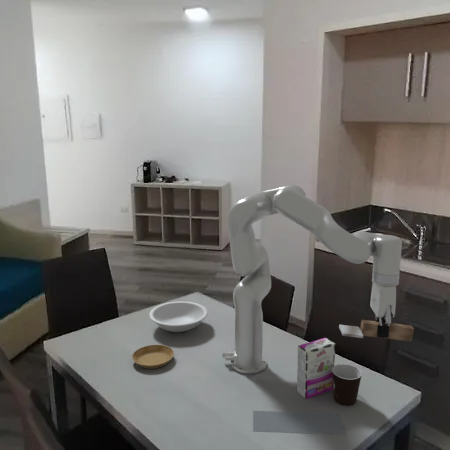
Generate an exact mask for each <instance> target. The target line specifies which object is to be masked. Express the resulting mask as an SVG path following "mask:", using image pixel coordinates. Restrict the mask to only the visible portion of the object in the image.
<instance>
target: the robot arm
mask: <svg viewBox="0 0 450 450" xmlns="http://www.w3.org/2000/svg"><path fill="white" fill-rule="evenodd" d="M278 214H280V215H282V216H283V217H285V218H287V219H289V220H290V221H292V222H294V223H295V224H297V225H298V226H300V227H302V228H304V229H305V230H306V231H308V232H310V233H311V234H312V235H313V236H314V237H315V238H316V239H317V240H318V241H319V242H320V243H321V244H322V245H323V246H324V247H325V248H326V249H328V250H329V251H331V252H332V253H334V254H335V255H337V256H338V257H340V258H342V259H344V260H345V261H346V262H347V261H348V262H350V263H352V264H357V265H358V264H359V265H360V264H361V265H362V264H364V263H366V262H368V260H369V259H370V257H372V258H373V259H372V273H371V274H372V275H371V282H372V285H371V292H370V293H371V294H370V304H369V305H370V306H369V307H370V308H371V310H372V311H373V313H374V315H375V316H374V317H375V320H374V321H377V322H379V324H378V331H377V336H378V337H377V338H379V337H382V338H381V339H388V336H389V326H390V324H391V323H392V319H393V318H395V315H396V307H397V306H396V305H397V286H398V285H399V284H400V273H401V261H402V247H403V243H402V242H403V241H402V239H401V238H400V237H398V236H396V235H392V234H381V235H380V234H376V233H372V232H367V231H357V232H355V233H353V234H352V233H350V232H349V231H347V230H346V229H344V228H343V227H341V226H340V225H339V224H338V222H336V221H335V220H334V217H333V216H332V214H331V212H330V211H329V210H328V209H327V208H325V207H323V206H322V205H320V204H318V203H317V202H315V201H314V200H312V199H310V198H309V197H307V195H306V191H305V190H304V189H303V188H302V187H300V186H299V185H297V184H289V185H285V186H281V187H277V188H273V189H272V188H271V189H267V190H263V191H259V192H258V191H257V192H256V193H253V194H250V195H248V196H246V197H243V198H242V199H240V200H239V201H237V202H236V203H234V204H233V205H232V206H231V207H230V209H229V210H228V213H227V216H226V225H227V232H228V238H229V247H230V256H231V263H232V268H233V270H234V272H235V273H236V274H237V275H239V276H241V277H243V278H242V280H240V281H239V282H238V283H237V284H236V286H235V287H234V289H233V292H232V300H233V301H232V302H233V306H234V348H233V350H231V351H222V353H221V354H222V355H221V356H222V358H224V359H225V360H224V361H230V366H231V368H232V369H233V370H235V371H237V372H238V373H241V374H247V375H248V374H257V373H261V372H262V371H264V370H265V368H266V367H267V363H268V362H267V360H266V358H265V357H264V356H263V336H264V335H263V334H264V331H263V330H264V329H263V328H264V324H263V323H264V319H263V318H264V316H263V315H264V314H263V310H262V301H263V300H264V299H265V297H266V296H267V295H268V294H270V291H271V288H272V275H271V267H270V259H269V254H268V252H267V251H268V250H267V249H266V247H265V246H264V245H263V244H262V243H260V242H258V241H256V235H255V231H254V228H253V224H255V223H256V222H258V221H260V220H262V219H264V218H265V217H268V216H273V215H278Z"/></svg>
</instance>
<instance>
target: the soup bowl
mask: <svg viewBox="0 0 450 450" xmlns="http://www.w3.org/2000/svg"><path fill="white" fill-rule="evenodd" d="M208 314H209V312H208V309H207V308H206V307H205V305H202V304H200V303H197V302H193V301H182V300H181V301H180V300H179V301H171V302H165V303H163V304H162V303H161V304H159V305H156V306H154V308H151V310H150V312H149V316H148V317H149V319H150V321H152V322H153V323H155V324H156V325H157V326H158V327H159V328H161V329H162V330H164V331H167V332H172V333H182V332H188V331H191V330H192V329H195V328H196V327H197V326H198V325H200V324H201V323H202V321H203V320H205V319H206V318H207V316H208Z"/></svg>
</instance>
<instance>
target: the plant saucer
mask: <svg viewBox="0 0 450 450" xmlns="http://www.w3.org/2000/svg"><path fill="white" fill-rule="evenodd" d="M174 356H175V352H174V350H173V349H172V348H171V347H169V346H168V345H163V344H149V345H144V346H142V347H140V348H138V349H136V350H135V351H134V352H133V354H132V355H131V360H132V361H134V363H135V364H136V365H138V366H139V367H141V368H143V369H149V370H151V369H153V370H154V369H159V368H161V367H163V366H165V365H167V364H168V363H169V362H170V361H171V360H172V359H173V357H174Z"/></svg>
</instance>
